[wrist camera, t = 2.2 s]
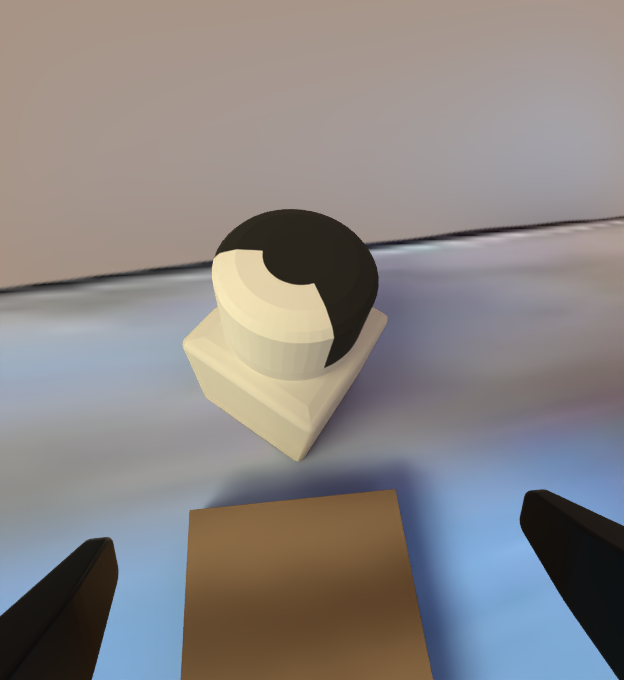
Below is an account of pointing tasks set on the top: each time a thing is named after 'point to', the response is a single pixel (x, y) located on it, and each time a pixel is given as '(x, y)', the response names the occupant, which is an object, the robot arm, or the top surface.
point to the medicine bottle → (287, 325)
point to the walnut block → (302, 592)
